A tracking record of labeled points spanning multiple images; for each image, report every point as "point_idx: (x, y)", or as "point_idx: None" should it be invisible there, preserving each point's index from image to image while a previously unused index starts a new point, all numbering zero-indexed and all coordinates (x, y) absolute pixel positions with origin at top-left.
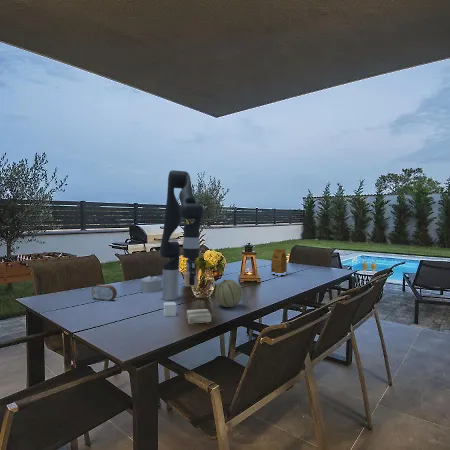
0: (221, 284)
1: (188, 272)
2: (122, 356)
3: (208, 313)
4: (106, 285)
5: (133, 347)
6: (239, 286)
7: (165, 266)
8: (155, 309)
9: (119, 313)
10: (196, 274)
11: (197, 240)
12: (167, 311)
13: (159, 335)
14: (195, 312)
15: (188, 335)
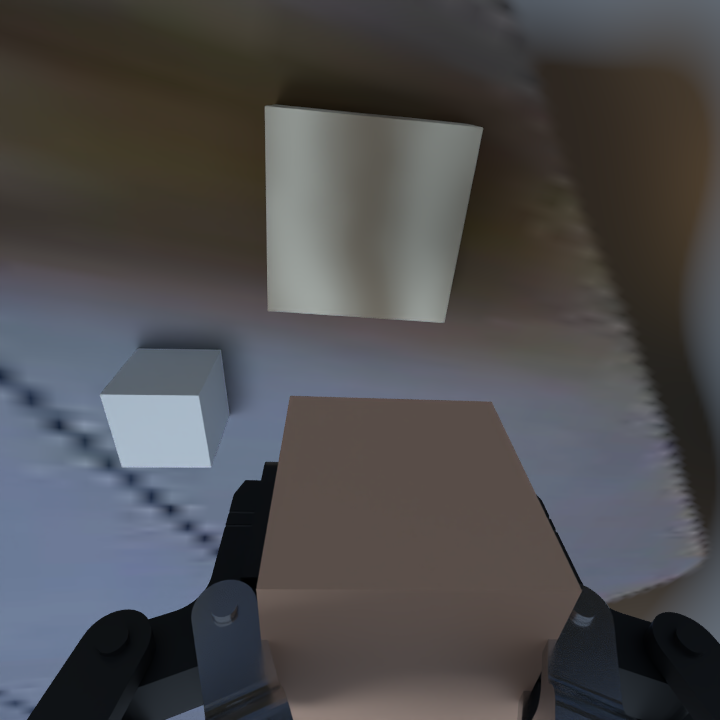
0: None
1: (339, 696)
2: (668, 569)
3: (419, 140)
4: None
5: (612, 545)
6: None
7: None
8: (65, 449)
9: (149, 590)
10: (565, 595)
11: None
12: (219, 420)
13: (535, 462)
14: (355, 256)
15: (614, 337)
